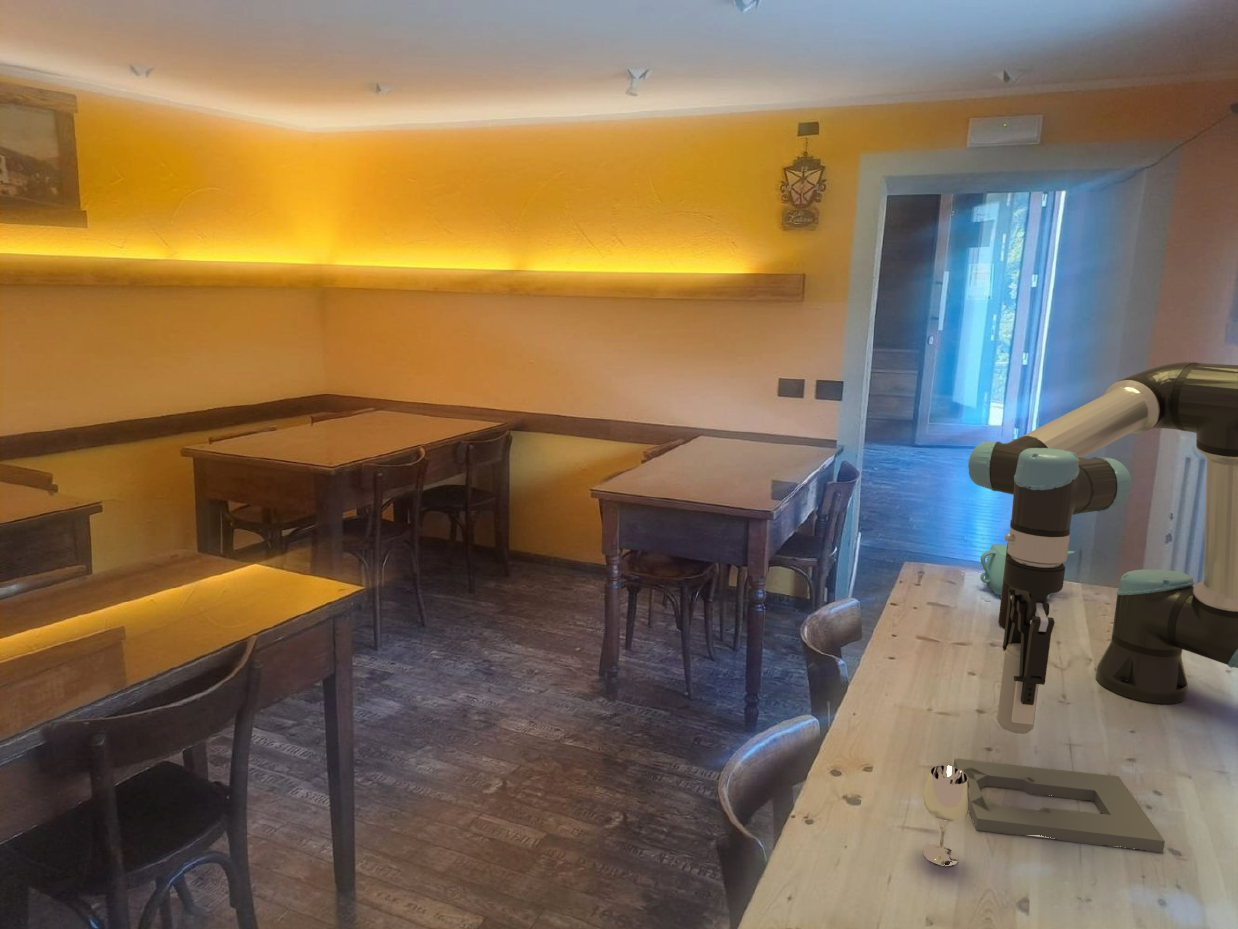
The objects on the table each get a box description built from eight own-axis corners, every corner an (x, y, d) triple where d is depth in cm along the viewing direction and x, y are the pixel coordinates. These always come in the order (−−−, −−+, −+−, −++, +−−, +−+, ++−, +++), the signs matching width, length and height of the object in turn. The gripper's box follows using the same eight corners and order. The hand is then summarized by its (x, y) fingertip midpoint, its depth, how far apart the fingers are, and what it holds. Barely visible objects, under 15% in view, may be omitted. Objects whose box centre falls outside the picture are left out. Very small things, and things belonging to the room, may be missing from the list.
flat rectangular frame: (1117, 787, 129) (1118, 776, 129) (1163, 853, 114) (1164, 841, 114) (953, 768, 134) (954, 758, 133) (976, 830, 118) (977, 818, 118)
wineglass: (910, 843, 115) (918, 763, 113) (951, 841, 116) (959, 762, 113) (929, 871, 110) (937, 788, 107) (971, 869, 110) (981, 786, 108)
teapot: (1023, 610, 204) (1030, 556, 201) (966, 589, 218) (972, 539, 215) (1069, 598, 213) (1076, 547, 210) (1012, 579, 227) (1017, 530, 224)
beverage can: (1037, 737, 120) (1047, 658, 117) (1000, 733, 121) (1010, 654, 118) (1027, 721, 124) (1037, 644, 122) (993, 717, 125) (1002, 641, 123)
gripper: (991, 540, 127) (975, 683, 131) (1025, 577, 110) (1005, 741, 114) (1044, 543, 125) (1026, 688, 130) (1087, 582, 108) (1064, 747, 113)
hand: (1016, 712), depth 122 cm, fingers closed on beverage can, 5 cm apart
